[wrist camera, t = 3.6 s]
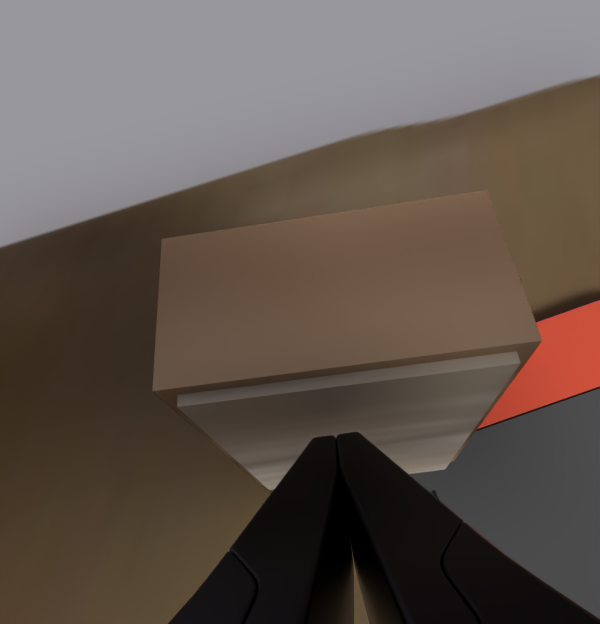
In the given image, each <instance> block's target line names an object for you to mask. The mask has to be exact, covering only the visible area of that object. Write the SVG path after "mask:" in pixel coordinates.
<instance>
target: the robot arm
mask: <svg viewBox="0 0 600 624" xmlns="http://www.w3.org/2000/svg"><path fill="white" fill-rule="evenodd" d="M350 539H351V540H350ZM351 546H352V547H351ZM352 552H353V556H352ZM353 558H354V564H355V568H356V572H357V577H358V581H359V584H360V588H361V592H362V596H363V600H364V603H365V607H366V611H367V615H368V619H369V622H370V624H600V619H599V618H598V617H596V616H595V615H593V614H592V613H590V612H589V611H587V610H586V609H584V608H583V607H581V606H580V605H578V604H577V603H575V602H574V601H572V600H571V599H569V598H568V597H566V596H565V595H563V594H562V593H560V592H559V591H557V590H556V589H554V588H553V587H551V586H550V585H548V584H547V583H545V582H544V581H542V580H541V579H539V578H538V577H537V576H535V575H534V574H532V573H531V572H529V571H528V570H527V569H525V568H524V567H522V566H521V565H520V564H518V563H517V562H515V561H514V560H512V559H511V558H510V557H508V556H507V555H506V554H504V553H503V552H502V551H501V550H499V549H498V548H497V547H496V546H494V545H493V544H492V543H490V542H489V541H488V540H487V539H485V538H484V537H483V536H482V535H480V534H479V533H478V532H477V531H476V530H475V529H473V528H472V527H471V526H470V525H469V524H467V523H466V522H464V521H463V520H462V519H461V518H460V517H459V516H458V515H456V514H455V513H454V512H453V511H452V510H451V509H449V508H448V507H447V506H446V505H445V504H443V503H442V502H441V501H440V500H439V499H437V498H436V497H435V496H434V495H433V494H432V493H430V492H429V491H428V490H427V489H426V488H424V487H423V486H422V485H421V484H420V483H419V482H417V481H416V480H415V479H414V478H413V477H411V476H410V475H409V474H408V473H407V472H406V471H404V470H403V469H402V468H401V467H400V466H398V465H397V464H396V463H395V462H394V461H392V460H391V459H390V458H389V457H388V456H387V455H385V454H384V453H383V452H382V451H381V450H379V449H378V448H377V447H376V446H375V445H374V444H372V443H371V442H370V441H369V440H368V439H366V438H365V437H364V436H363V435H362V434H361V433H359V432H350V433H342V434H338V435H337V437H335V436H333V435H328V436H320V437H314V438H313V439H312V440H311V441H310V442H309V444H308V445H307V446H306V448H305V449H304V450H303V452H302V453H301V454H300V456H299V457H298V458H297V460H296V461H295V462H294V464H293V465H292V466H291V468H290V469H289V470H288V472H287V473H286V474H285V476H284V477H283V478H282V480H281V481H280V482H279V484H278V485H277V486H276V488H275V489H274V490H273V492H272V493H271V494H270V496H269V497H268V498H267V500H266V501H265V502H264V504H263V505H262V506H261V508H260V509H259V510H258V512H257V513H256V514H255V516H254V517H253V518H252V520H251V521H250V522H249V524H248V525H247V526H246V528H245V529H244V530H243V532H242V533H241V534H240V536H239V537H238V538H237V540H236V541H235V542H234V544H233V545H232V546H231V548H230V552H227V553H226V554H225V556H224V557H223V558H222V560H221V561H220V562H219V564H218V565H217V566H216V568H215V569H214V570H213V571H212V573H211V574H210V575H209V576H208V578H207V579H206V580H205V581H204V583H203V584H202V585H201V586H200V588H199V589H198V590H197V591H196V593H195V594H194V595H193V596H192V597H191V598H190V599H189V601H188V602H187V603H186V604H185V605H184V606H183V607H182V609H181V610H180V611H179V612H178V613H177V614H176V615H175V616H174V618H173V619H172V620H171V621H170V622H169V623H168V624H354V572H353Z"/></svg>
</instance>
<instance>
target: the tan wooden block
mask: <svg viewBox="0 0 600 624" xmlns="http://www.w3.org/2000/svg"><path fill="white" fill-rule="evenodd" d="M542 341H543V340H542V337H541V335H540V332H539V329H538V327H537V324H536V321H535V318H534V316H533V313H532V310H531V308H530V305H529V302H528V299H527V297H526V294H525V291H524V289H523V286H522V283H521V280H520V278H519V275H518V272H517V270H516V267H515V264H514V261H513V259H512V256H511V253H510V251H509V248H508V245H507V242H506V240H505V237H504V234H503V232H502V229H501V226H500V223H499V221H498V218H497V215H496V213H495V210H494V207H493V205H492V202H491V199H490V196H489V194H488V191H487V190H484V191H478V192H471V193H464V194H458V195H451V196H444V197H438V198H431V199H424V200H418V201H411V202H404V203H398V204H391V205H384V206H378V207H371V208H364V209H358V210H351V211H344V212H337V213H331V214H324V215H317V216H311V217H304V218H297V219H291V220H284V221H277V222H271V223H264V224H257V225H251V226H244V227H237V228H231V229H224V230H217V231H211V232H204V233H197V234H191V235H184V236H177V237H171V238H164V239H162V242H161V258H160V275H159V291H158V307H157V324H156V340H155V356H154V372H153V389H152V391H153V392H154V393H155V394H156V395H157V396H158V397H160V398H161V399H162V400H163V401H164V402H165V403H166V404H168V405H169V406H170V407H171V408H172V409H173V410H175V411H176V412H177V413H178V414H179V415H180V416H181V417H183V418H184V419H185V420H186V421H187V422H188V423H189V424H191V425H192V426H193V427H194V428H195V429H196V430H197V431H199V432H200V433H201V434H202V435H203V436H204V437H206V438H207V439H208V440H209V441H210V442H211V443H212V444H214V445H215V446H216V447H217V448H218V449H219V450H220V451H222V452H223V453H224V454H225V455H226V456H227V457H229V458H230V459H231V460H232V461H233V462H234V463H235V464H237V465H238V466H239V467H240V468H241V469H242V470H243V471H245V472H246V473H247V474H248V475H249V476H250V477H251V478H253V479H254V480H255V481H256V482H257V483H258V484H260V485H261V486H265V487H266V488H268V489H269V490H274V489H275V488H276V486H277V485H278V484H279V482H280V481H281V480H282V478H283V477H284V476H285V474H286V473H287V472H288V470H289V469H290V468H291V466H292V465H293V464H294V462H295V461H296V460H297V458H298V457H299V456H300V454H301V453H302V452H303V450H304V449H305V448H306V446H307V445H308V444H309V442H310V441H311V440H312V439H313V438H314V437H320V436H328V435H333V436H335V437H337V435H338V434H342V433H350V432H359V433H361V434H362V435H363V436H364V437H365V438H366V439H368V440H369V441H370V442H371V443H372V444H374V445H375V446H376V447H377V448H378V449H379V450H381V451H382V452H383V453H384V454H385V455H387V456H388V457H389V458H390V459H391V460H392V461H394V462H395V463H396V464H397V465H398V466H400V467H401V468H402V469H403V470H404V471H406V472H407V473H408V474H413V473H421V472H429V471H437V470H445V469H446V468H447V466H448V465H449V463H450V462H453V461H454V460H455V459H456V458H457V456H458V455H459V453H460V452H461V451H462V449H463V448H464V447H465V445H466V444H467V443H468V441H469V440H470V439H471V437H472V436H473V434H474V433H475V432H476V430H477V429H478V428H479V426H480V425H481V424H482V422H483V421H484V419H485V418H486V417H487V415H488V414H489V413H490V411H491V410H492V409H493V407H494V406H495V405H496V403H497V402H498V400H499V399H500V398H501V396H502V395H503V394H504V392H505V391H506V390H507V388H508V387H509V385H510V384H511V383H512V381H513V380H514V379H515V377H516V376H517V375H518V373H519V372H520V371H521V369H522V368H523V366H524V365H525V364H526V362H527V361H528V360H529V358H530V357H531V356H532V354H533V353H534V352H535V350H536V349H537V347H538V346H539V345H540V343H541V342H542Z"/></svg>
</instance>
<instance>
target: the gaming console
mask: <svg viewBox="0 0 600 624" xmlns="http://www.w3.org/2000/svg"><path fill="white" fill-rule="evenodd" d="M536 324H537V327H538V329H539V332H540V335H541V337H542V340H543V341H542V342H541V343H540V345H539V346H538V347H537V349H536V350H535V352H534V353H533V354H532V356H531V357H530V358H529V360H528V361H527V362H526V364H525V365H524V366H523V368H522V369H521V371H520V372H519V373H518V375H517V376H516V377H515V379H514V380H513V381H512V383H511V384H510V385H509V387H508V388H507V390H506V391H505V392H504V394H503V395H502V396H501V398H500V399H499V400H498V402H497V403H496V405H495V406H494V407H493V409H492V410H491V411H490V413H489V414H488V415H487V417H486V418H485V419H484V421H483V422H482V424H481V425H480V426H479V428H478V429H477V430H476V432H475V433H474V434H473V436H472V437H471V439H470V440H469V441H468V443H467V444H466V445H465V447H464V448H463V449H462V451H461V452H460V453H459V455H458V456H457V458H456V459H455V460H454V461H453V462H450V463H449V465H448V466H447V468H446V469H445V470H437V471H429V472H421V473H413V474H409V475H410V476H411V477H413V478H414V479H415V480H416V481H417V482H419V483H420V484H421V485H422V486H423V487H424V488H426V489H427V490H428V491H429V492H430V493H432V494H433V495H434V496H435V497H436V498H437V499H439V500H440V501H441V502H442V503H443V504H445V505H446V506H447V507H448V508H449V509H451V510H452V511H453V512H454V513H455V514H456V515H458V516H459V517H460V518H461V519H462V520H463V521H464V522H466V523H467V524H469V525H470V526H471V527H472V528H473V529H475V530H476V531H477V532H478V533H479V534H480V535H482V536H483V537H484V538H485V539H487V540H488V541H489V542H490V543H492V544H493V545H494V546H496V547H497V548H498V549H499V550H501V551H502V552H503V553H504V554H506V555H507V556H508V557H510V558H511V559H512V560H514V561H515V562H517V563H518V564H520V565H521V566H522V567H524V568H525V569H527V570H528V571H529V572H531V573H532V574H534V575H535V576H537V577H538V578H539V579H541V580H542V581H544V582H545V583H547V584H548V585H550V586H551V587H553V588H554V589H556V590H557V591H559V592H560V593H562V594H563V595H565V596H566V597H568V598H569V599H571V600H572V601H574V602H575V603H577V604H578V605H580V606H581V607H583V608H584V609H586V610H587V611H589V612H590V613H592V614H593V615H595V616H596V617H598V618H599V619H600V300H598V301H595V302H592V303H589V304H587V305H584V306H581V307H578V308H575V309H573V310H570V311H567V312H564V313H561V314H559V315H556V316H553V317H550V318H547V319H544V320H542V321H539V322H536Z"/></svg>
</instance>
